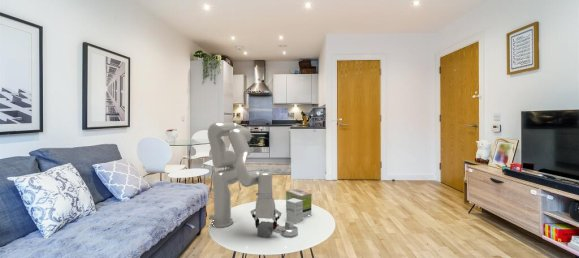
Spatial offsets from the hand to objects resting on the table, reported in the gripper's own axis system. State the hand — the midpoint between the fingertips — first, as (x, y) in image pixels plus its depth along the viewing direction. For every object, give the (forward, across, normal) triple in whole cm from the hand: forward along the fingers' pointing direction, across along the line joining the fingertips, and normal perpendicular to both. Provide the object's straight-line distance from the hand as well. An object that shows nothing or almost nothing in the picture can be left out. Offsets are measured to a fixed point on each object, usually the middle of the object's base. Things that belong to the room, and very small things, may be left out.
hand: (266, 227), depth 139 cm
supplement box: (+4, +9, +25) cm, 27 cm away
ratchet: (+4, +5, +7) cm, 10 cm away
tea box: (+4, +9, +37) cm, 38 cm away
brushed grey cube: (+4, -1, 0) cm, 4 cm away
